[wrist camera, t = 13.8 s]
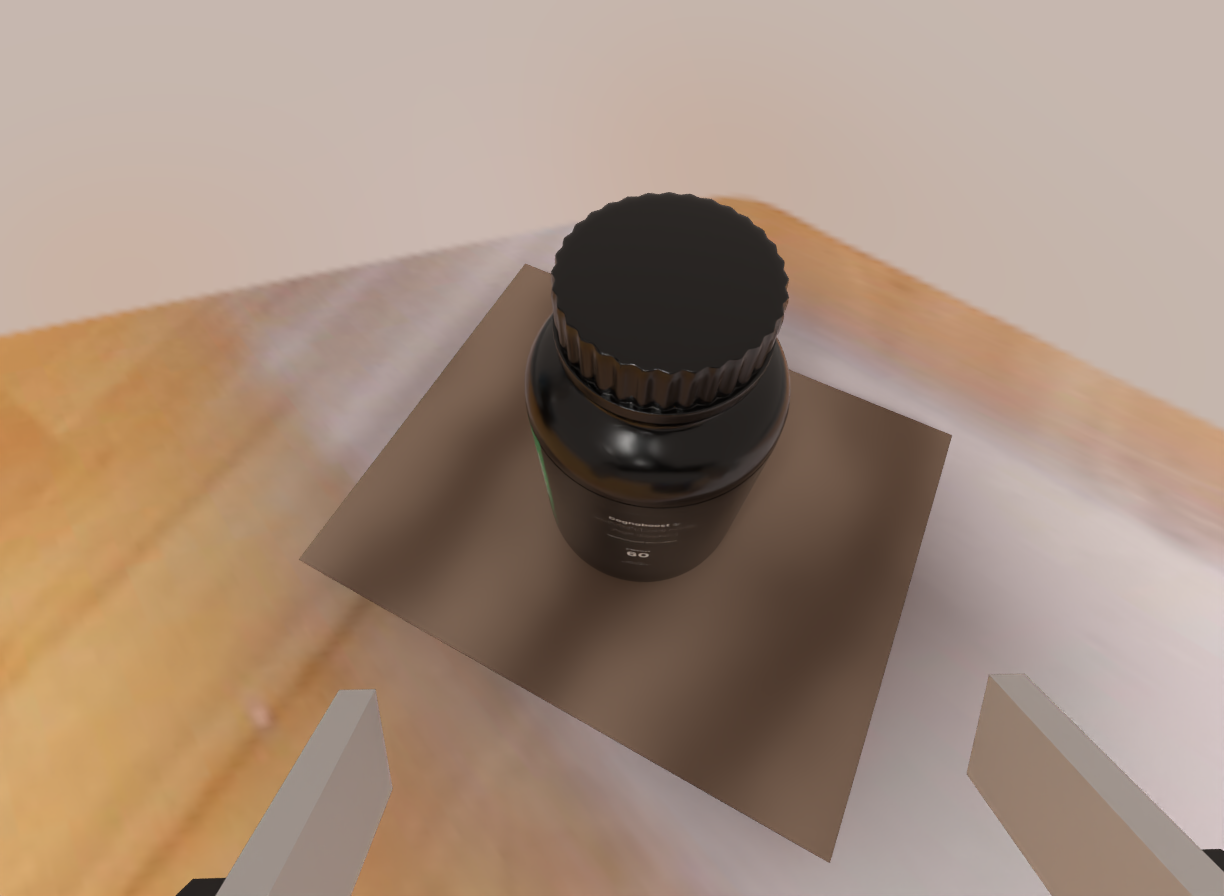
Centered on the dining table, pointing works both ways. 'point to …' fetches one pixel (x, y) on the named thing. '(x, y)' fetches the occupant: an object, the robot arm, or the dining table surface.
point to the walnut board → (662, 610)
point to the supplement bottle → (658, 381)
